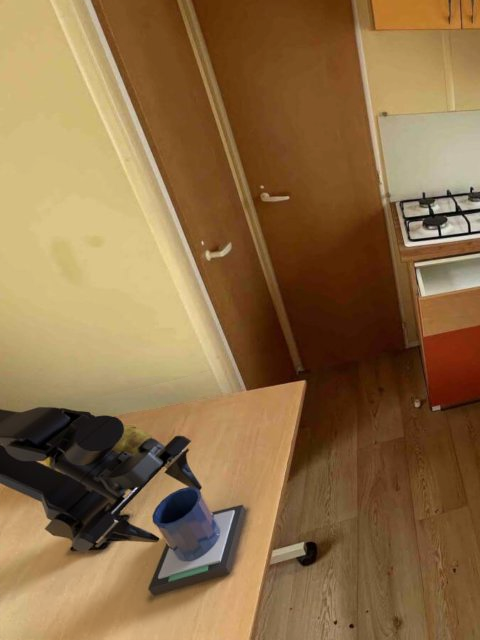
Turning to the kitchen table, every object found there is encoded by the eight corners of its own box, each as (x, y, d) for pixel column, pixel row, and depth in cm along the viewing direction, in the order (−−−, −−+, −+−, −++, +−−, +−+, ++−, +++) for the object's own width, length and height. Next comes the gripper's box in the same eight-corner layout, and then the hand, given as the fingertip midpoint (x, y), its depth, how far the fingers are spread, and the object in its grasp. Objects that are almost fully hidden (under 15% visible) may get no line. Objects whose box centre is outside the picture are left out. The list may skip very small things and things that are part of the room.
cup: (169, 567, 75) (145, 531, 70) (183, 528, 81) (162, 493, 76) (214, 554, 77) (193, 519, 72) (224, 517, 83) (206, 482, 78)
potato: (125, 480, 93) (109, 456, 89) (91, 459, 98) (75, 436, 94) (165, 450, 100) (151, 426, 96) (132, 432, 104) (118, 409, 101)
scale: (230, 574, 77) (225, 565, 76) (153, 596, 74) (146, 587, 73) (246, 511, 87) (242, 502, 86) (179, 528, 84) (174, 519, 83)
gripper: (50, 503, 60) (150, 557, 64) (163, 403, 76) (237, 451, 80) (31, 528, 64) (126, 577, 68) (141, 428, 81) (212, 472, 85)
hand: (180, 513), depth 75 cm, fingers open, 9 cm apart
